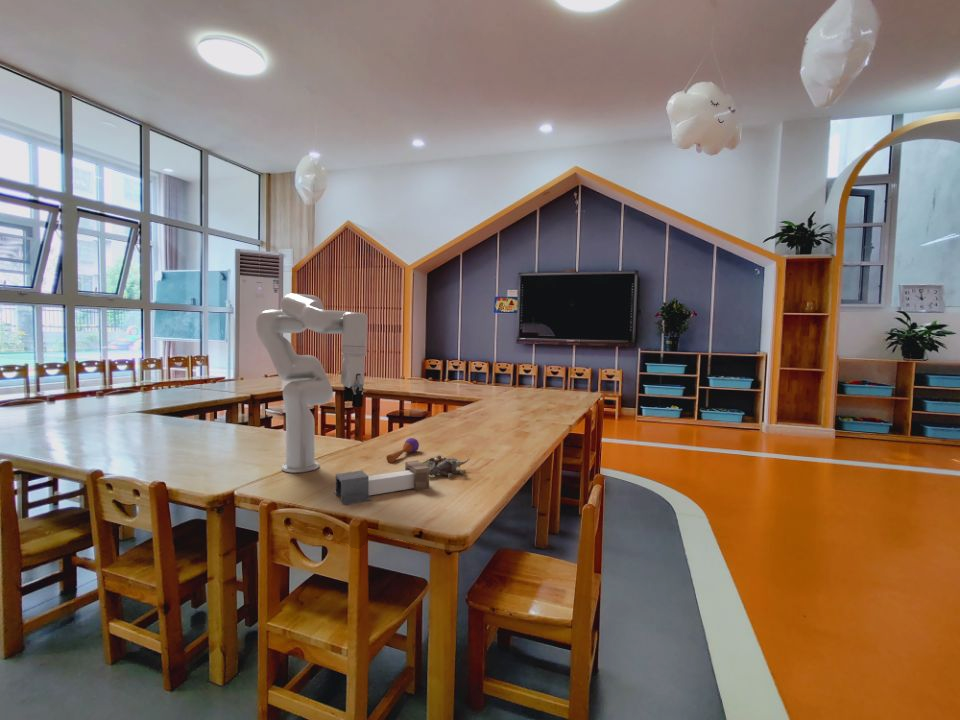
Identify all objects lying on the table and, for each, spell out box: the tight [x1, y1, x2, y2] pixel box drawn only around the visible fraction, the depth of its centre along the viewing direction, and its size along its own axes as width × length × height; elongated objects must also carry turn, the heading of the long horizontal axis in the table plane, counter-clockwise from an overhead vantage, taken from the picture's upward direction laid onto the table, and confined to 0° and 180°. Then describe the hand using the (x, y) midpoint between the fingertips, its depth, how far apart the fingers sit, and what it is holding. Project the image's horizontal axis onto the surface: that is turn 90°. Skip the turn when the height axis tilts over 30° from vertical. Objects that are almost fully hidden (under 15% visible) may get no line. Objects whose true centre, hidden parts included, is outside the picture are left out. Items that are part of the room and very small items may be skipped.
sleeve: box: [333, 470, 372, 506], centre depth 143 cm, size 11×8×7 cm
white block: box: [368, 470, 414, 497], centre depth 149 cm, size 5×18×5 cm, turn 121°
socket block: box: [404, 460, 430, 492], centre depth 154 cm, size 9×4×7 cm, turn 31°
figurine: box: [422, 455, 470, 479], centre depth 169 cm, size 20×6×17 cm
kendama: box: [386, 437, 420, 464], centre depth 189 cm, size 6×6×20 cm
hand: (352, 404), depth 153 cm, fingers open, 9 cm apart
